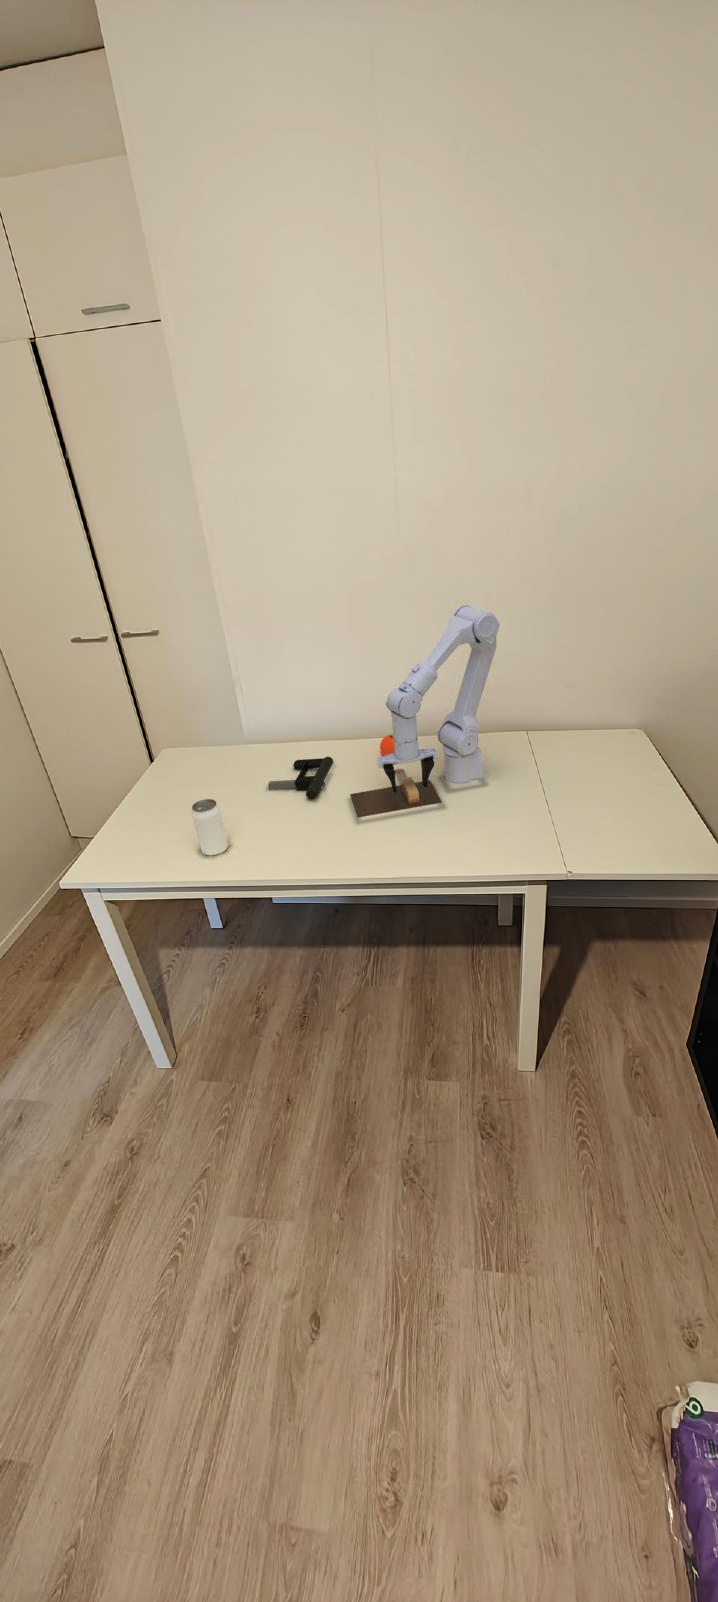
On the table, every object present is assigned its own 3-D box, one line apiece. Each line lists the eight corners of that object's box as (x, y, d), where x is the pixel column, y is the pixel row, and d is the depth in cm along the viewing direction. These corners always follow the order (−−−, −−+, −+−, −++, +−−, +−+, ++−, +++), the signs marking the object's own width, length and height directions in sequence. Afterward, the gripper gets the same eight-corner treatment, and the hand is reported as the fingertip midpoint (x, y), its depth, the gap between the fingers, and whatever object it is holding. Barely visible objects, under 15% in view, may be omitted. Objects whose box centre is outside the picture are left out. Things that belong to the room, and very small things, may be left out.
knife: (419, 802, 173) (418, 791, 172) (408, 804, 173) (407, 793, 172) (403, 769, 189) (402, 759, 188) (393, 770, 189) (392, 760, 187)
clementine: (392, 749, 204) (389, 726, 200) (412, 753, 200) (410, 730, 196) (376, 760, 198) (373, 737, 195) (397, 765, 195) (394, 742, 191)
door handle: (260, 792, 185) (319, 789, 180) (282, 757, 201) (337, 754, 197) (263, 803, 186) (321, 801, 182) (285, 767, 203) (339, 764, 199)
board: (430, 785, 183) (430, 779, 183) (442, 807, 173) (442, 802, 172) (350, 799, 181) (349, 794, 181) (358, 822, 171) (357, 817, 170)
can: (203, 843, 171) (191, 800, 165) (229, 839, 171) (219, 796, 165) (200, 858, 165) (188, 814, 159) (227, 854, 165) (216, 810, 159)
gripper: (431, 726, 173) (434, 775, 180) (372, 736, 172) (378, 785, 178) (438, 738, 167) (441, 788, 174) (378, 748, 166) (383, 798, 172)
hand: (409, 787), depth 176 cm, fingers open, 7 cm apart
